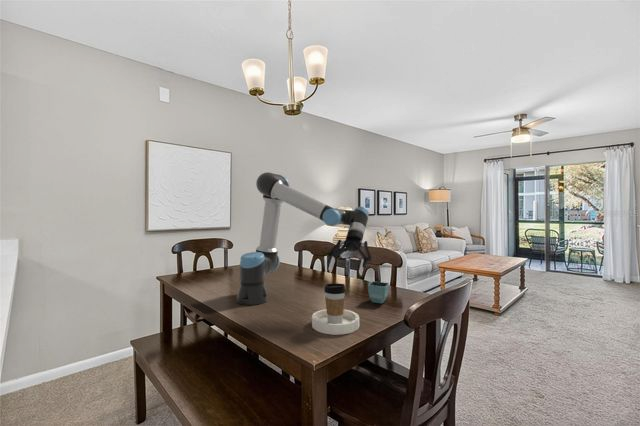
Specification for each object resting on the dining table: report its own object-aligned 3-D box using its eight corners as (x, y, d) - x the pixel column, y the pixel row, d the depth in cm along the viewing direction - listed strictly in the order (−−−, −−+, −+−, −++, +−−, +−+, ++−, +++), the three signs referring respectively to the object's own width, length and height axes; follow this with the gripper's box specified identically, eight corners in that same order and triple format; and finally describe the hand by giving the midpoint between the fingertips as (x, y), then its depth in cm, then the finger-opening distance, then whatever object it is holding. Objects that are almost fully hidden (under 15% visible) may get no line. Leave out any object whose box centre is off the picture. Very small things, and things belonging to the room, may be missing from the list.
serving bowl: (325, 338, 109) (325, 328, 109) (304, 321, 126) (304, 312, 126) (368, 329, 118) (368, 320, 118) (343, 314, 134) (343, 306, 134)
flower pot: (389, 300, 154) (389, 282, 154) (385, 305, 146) (385, 286, 146) (372, 298, 158) (372, 281, 158) (367, 303, 150) (367, 284, 150)
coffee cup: (339, 328, 116) (339, 288, 116) (320, 323, 121) (320, 285, 120) (349, 321, 123) (349, 283, 123) (331, 317, 128) (331, 281, 128)
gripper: (383, 240, 142) (375, 279, 129) (332, 237, 152) (320, 274, 139) (380, 229, 137) (372, 269, 124) (328, 227, 147) (315, 264, 134)
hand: (344, 272), depth 131 cm, fingers open, 13 cm apart
